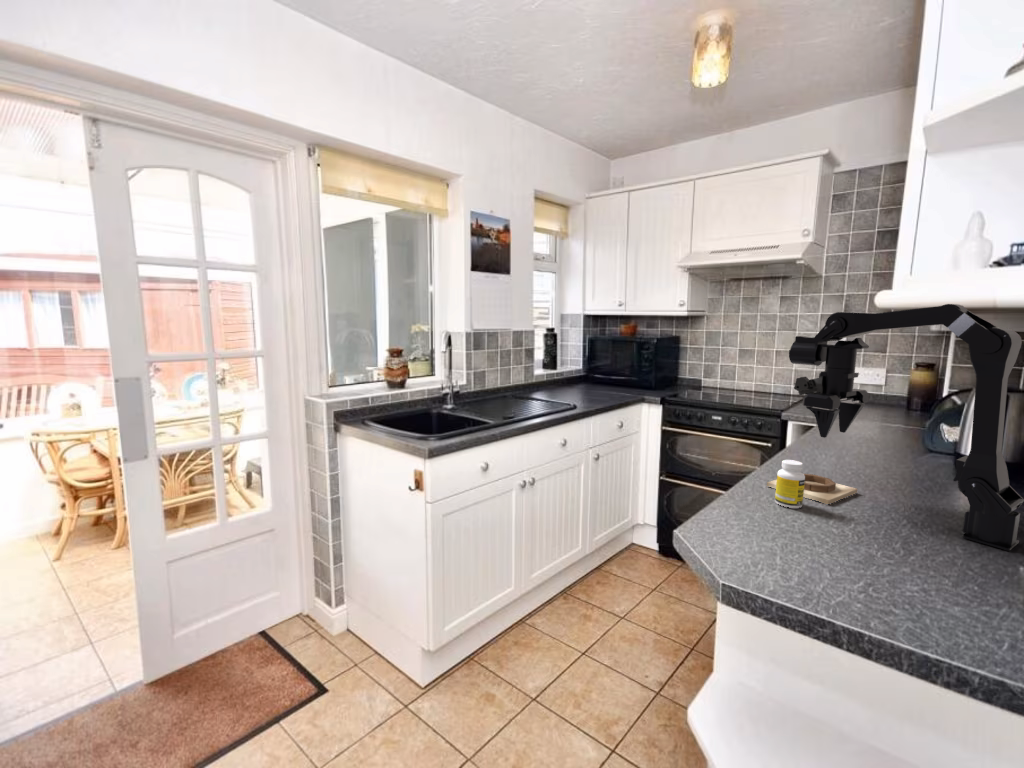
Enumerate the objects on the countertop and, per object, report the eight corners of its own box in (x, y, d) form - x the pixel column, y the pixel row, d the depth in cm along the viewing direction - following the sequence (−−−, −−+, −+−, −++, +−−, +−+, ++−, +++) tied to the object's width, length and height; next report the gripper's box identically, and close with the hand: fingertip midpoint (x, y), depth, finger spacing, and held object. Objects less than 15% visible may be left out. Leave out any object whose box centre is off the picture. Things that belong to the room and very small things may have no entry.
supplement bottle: (800, 511, 105) (804, 467, 104) (772, 505, 109) (776, 462, 107) (803, 503, 110) (807, 461, 108) (776, 498, 113) (780, 457, 112)
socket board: (856, 493, 116) (858, 482, 116) (828, 505, 109) (829, 493, 108) (796, 477, 128) (797, 467, 128) (766, 487, 120) (767, 476, 120)
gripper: (822, 362, 123) (816, 423, 125) (782, 366, 113) (776, 432, 115) (873, 366, 114) (866, 432, 116) (834, 371, 103) (827, 443, 106)
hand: (833, 434), depth 113 cm, fingers open, 9 cm apart
